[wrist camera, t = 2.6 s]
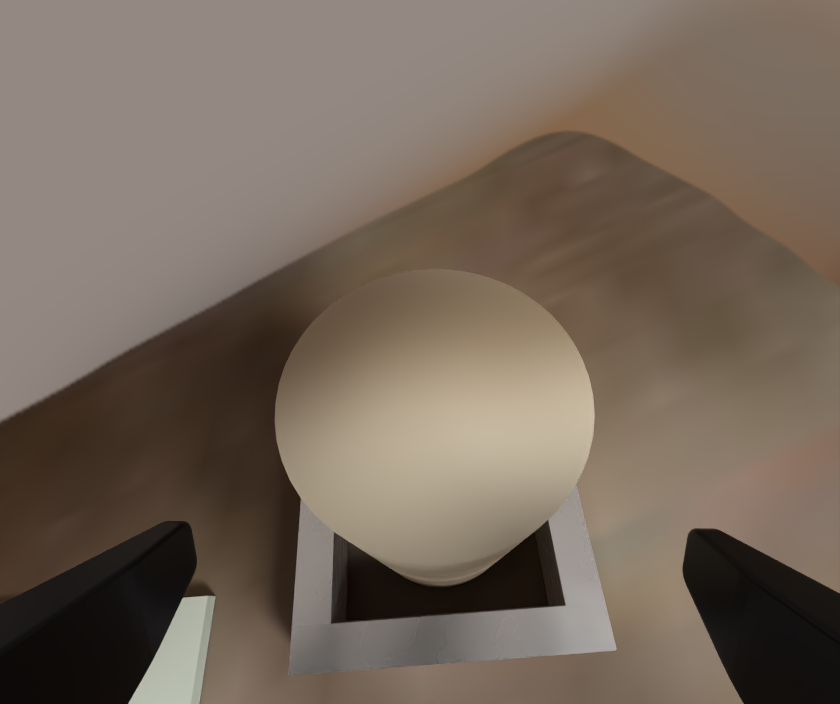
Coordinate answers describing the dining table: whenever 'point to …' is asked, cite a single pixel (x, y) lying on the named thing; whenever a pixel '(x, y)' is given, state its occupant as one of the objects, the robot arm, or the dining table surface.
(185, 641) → the sage board
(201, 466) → the dining table surface
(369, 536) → the maple peg
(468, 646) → the grey square frame
